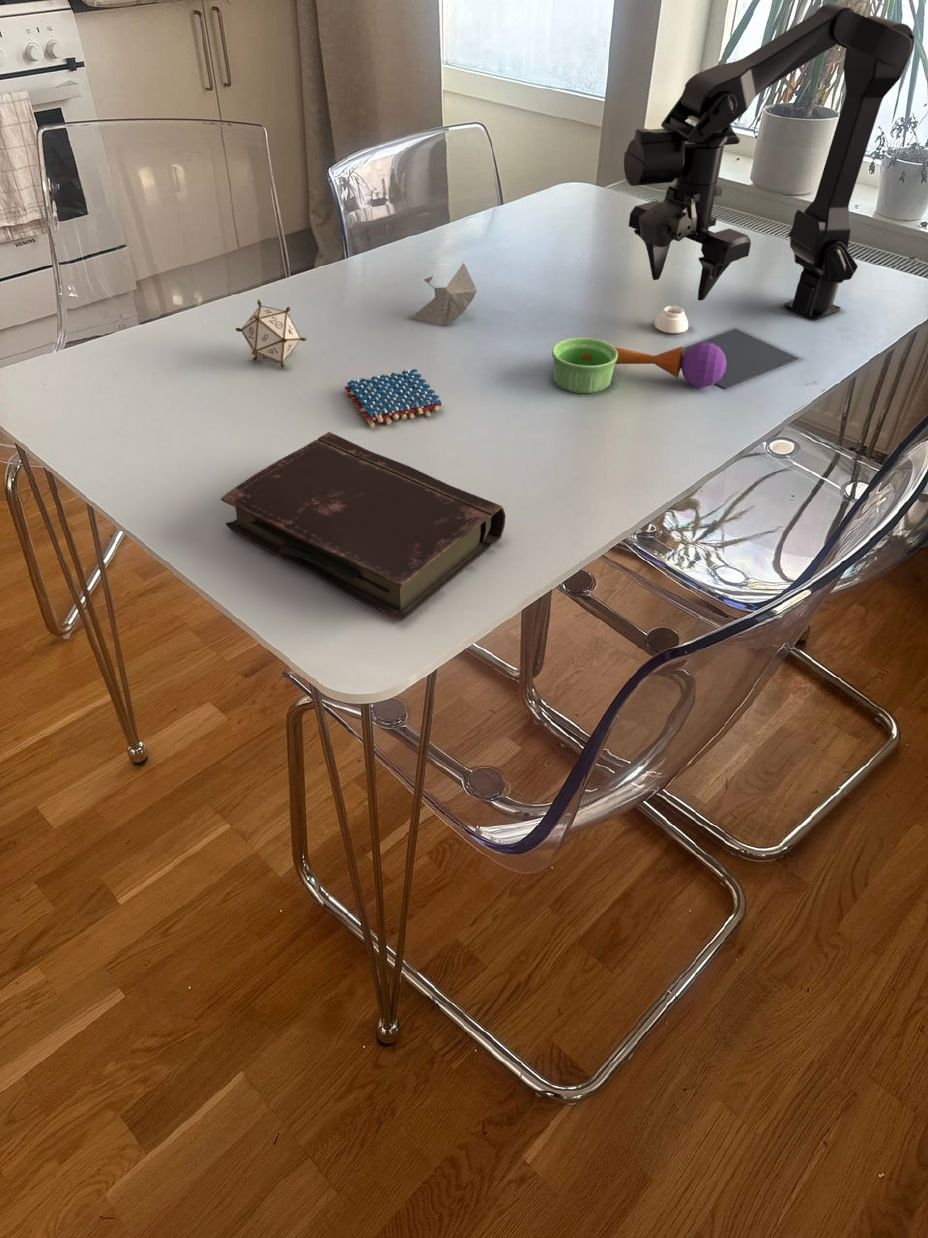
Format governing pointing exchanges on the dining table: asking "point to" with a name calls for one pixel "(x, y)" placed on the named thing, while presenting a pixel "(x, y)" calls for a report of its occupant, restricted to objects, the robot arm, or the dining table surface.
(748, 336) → the slate mat
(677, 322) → the white jar
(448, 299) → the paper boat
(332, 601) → the dining table surface
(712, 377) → the kendama
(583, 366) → the ramekin
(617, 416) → the dining table surface
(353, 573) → the diary
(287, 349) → the game die
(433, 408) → the woven mat
